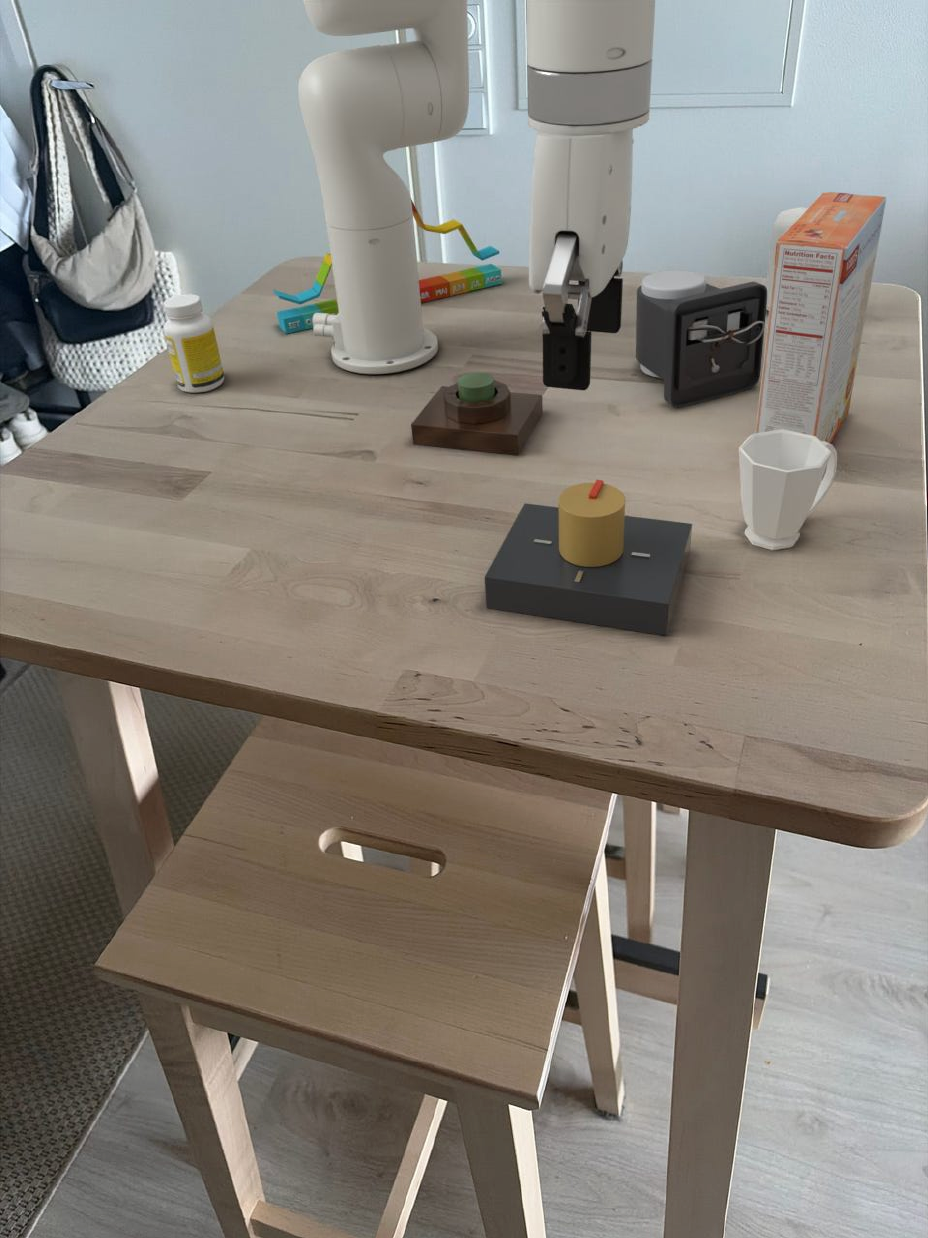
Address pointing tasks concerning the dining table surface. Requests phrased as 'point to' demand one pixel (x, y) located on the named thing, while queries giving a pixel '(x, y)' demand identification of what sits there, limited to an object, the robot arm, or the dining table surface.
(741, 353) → the light fixture
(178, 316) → the supplement bottle
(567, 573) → the dimmer panel
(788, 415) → the cracker box
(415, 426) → the lamp base
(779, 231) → the photo printer
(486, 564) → the dining table surface
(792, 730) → the dining table surface
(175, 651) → the dining table surface
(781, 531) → the cup
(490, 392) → the switch
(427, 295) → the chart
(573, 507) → the dimmer
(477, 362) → the dining table surface
